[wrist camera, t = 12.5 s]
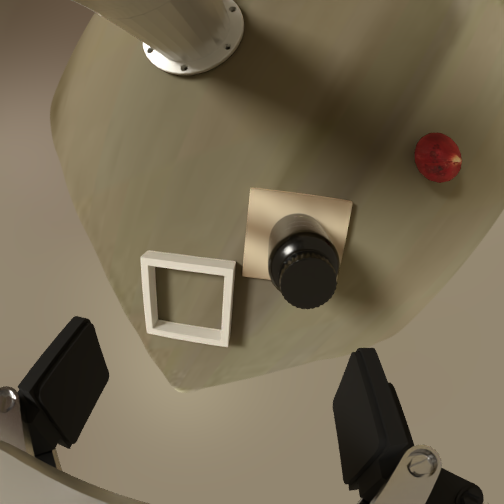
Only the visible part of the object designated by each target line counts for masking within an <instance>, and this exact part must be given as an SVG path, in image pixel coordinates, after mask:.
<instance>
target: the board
mask: <svg viewBox="0 0 504 504" xmlns="http://www.w3.org/2000/svg"><path fill="white" fill-rule="evenodd" d="M352 204H353V202H352V201H349V200H343V199H337V198H330V197H323V196H316V195H309V194H302V193H294V192H287V191H278V190H270V189H261V188H252V187H251V188H250V198H249V208H248V218H247V229H246V239H245V250H244V260H243V271H242V276H244V277H253V278H261V279H270V276H269V272H268V247H269V236H270V233H271V230H272V228H273V226H274V225H275V224H276V223H277V222H278V221H279V220H280V219H281V218H283V217H285V216H287V215H290V214H295V213H301V214H306V215H309V216H311V217H313V218H315V219H316V220H317V221H318V222H319V223H320V224H321V225H322V227H323V228H324V230H325V231H326V233H327V235H328V236H329V238H330V239H331V241H332V243H333V244H334V246H335V248H336V250H337V252H338V255H339V259H340V264H341V260H342V255H343V251H344V246H345V241H346V236H347V231H348V226H349V220H350V215H351V209H352ZM337 278H338V276H337ZM270 280H271V279H270ZM336 281H337V280H336Z"/></svg>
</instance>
